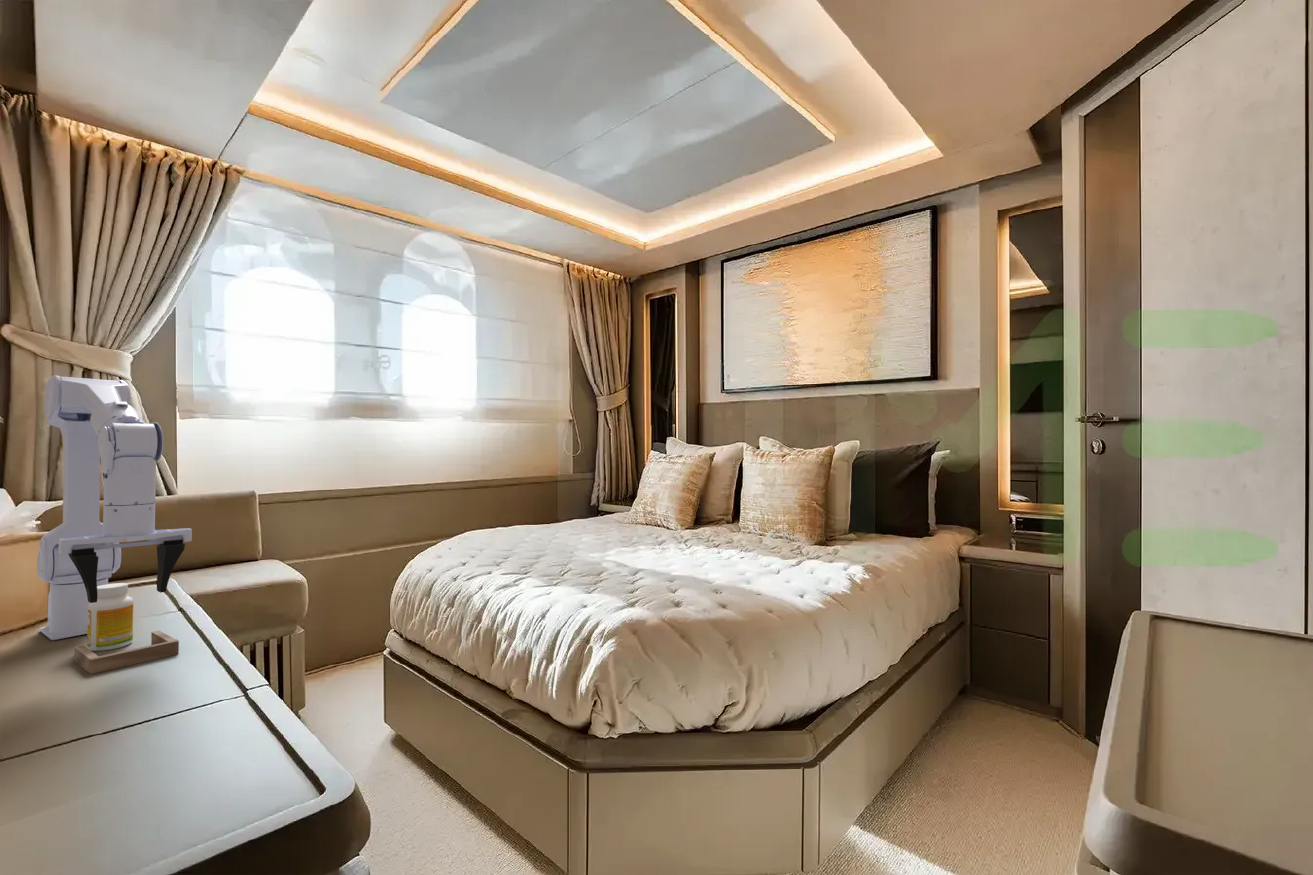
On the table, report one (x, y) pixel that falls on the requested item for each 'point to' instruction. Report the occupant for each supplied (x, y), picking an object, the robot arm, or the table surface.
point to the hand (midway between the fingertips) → (128, 596)
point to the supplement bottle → (110, 618)
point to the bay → (127, 654)
